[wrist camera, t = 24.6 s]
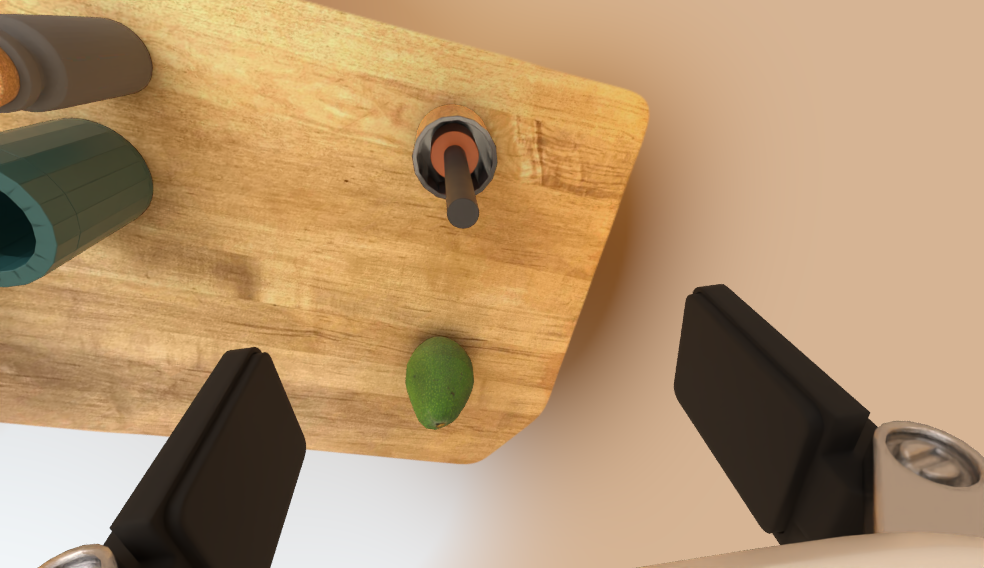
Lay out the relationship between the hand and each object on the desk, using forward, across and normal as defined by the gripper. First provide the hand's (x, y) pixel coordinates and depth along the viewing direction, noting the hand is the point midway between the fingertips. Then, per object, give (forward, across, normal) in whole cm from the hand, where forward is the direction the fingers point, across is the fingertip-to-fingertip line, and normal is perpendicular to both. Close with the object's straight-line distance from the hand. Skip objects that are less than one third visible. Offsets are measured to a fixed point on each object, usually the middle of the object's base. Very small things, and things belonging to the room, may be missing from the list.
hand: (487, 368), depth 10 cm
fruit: (+38, +5, +28) cm, 48 cm away
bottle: (+38, +28, -7) cm, 48 cm away
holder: (+38, 0, +3) cm, 38 cm away
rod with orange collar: (+38, 0, +3) cm, 38 cm away
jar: (+38, +34, +2) cm, 51 cm away
